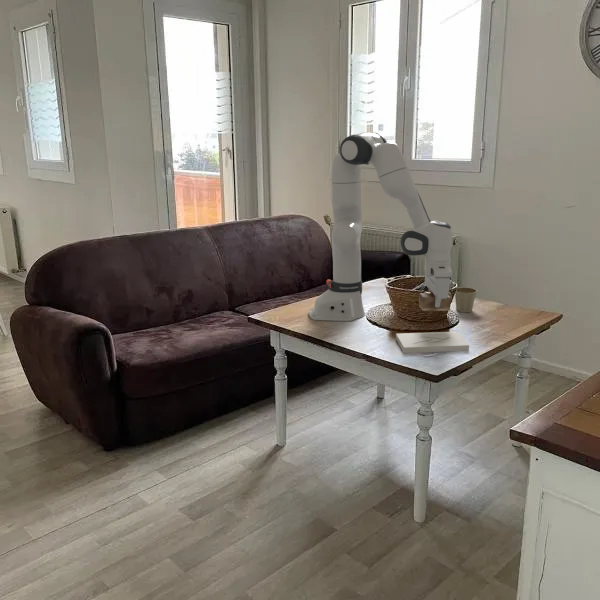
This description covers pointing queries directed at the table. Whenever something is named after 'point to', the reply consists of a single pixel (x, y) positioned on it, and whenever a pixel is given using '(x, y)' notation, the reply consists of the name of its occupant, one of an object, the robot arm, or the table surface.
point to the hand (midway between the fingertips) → (434, 303)
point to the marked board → (431, 342)
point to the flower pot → (465, 299)
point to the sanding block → (428, 303)
